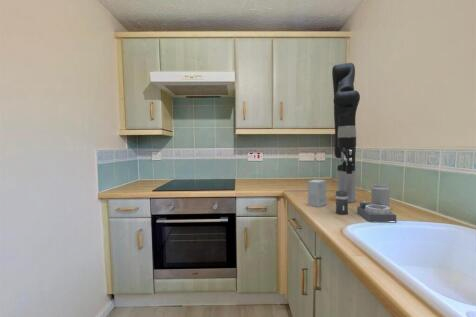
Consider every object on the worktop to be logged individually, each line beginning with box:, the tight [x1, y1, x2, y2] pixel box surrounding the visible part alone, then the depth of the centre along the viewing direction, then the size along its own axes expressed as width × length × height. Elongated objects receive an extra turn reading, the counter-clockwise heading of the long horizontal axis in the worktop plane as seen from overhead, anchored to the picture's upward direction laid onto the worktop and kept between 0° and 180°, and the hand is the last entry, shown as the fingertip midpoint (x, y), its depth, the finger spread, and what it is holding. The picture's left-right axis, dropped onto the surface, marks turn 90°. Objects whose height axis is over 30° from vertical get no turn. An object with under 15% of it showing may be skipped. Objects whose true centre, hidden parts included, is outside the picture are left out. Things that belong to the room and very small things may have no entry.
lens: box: [335, 190, 349, 216], centre depth 110 cm, size 5×5×10 cm
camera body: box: [356, 200, 397, 222], centre depth 103 cm, size 14×10×6 cm
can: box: [371, 183, 391, 208], centre depth 115 cm, size 8×8×12 cm
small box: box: [307, 179, 327, 208], centre depth 127 cm, size 8×6×13 cm
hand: (347, 172), depth 107 cm, fingers open, 8 cm apart
